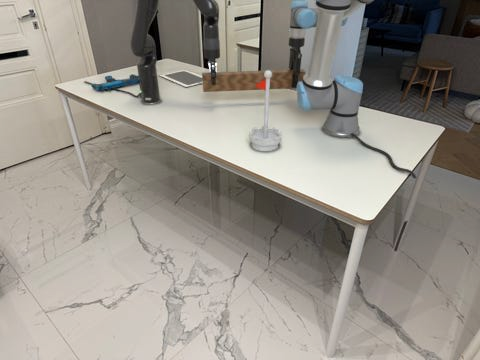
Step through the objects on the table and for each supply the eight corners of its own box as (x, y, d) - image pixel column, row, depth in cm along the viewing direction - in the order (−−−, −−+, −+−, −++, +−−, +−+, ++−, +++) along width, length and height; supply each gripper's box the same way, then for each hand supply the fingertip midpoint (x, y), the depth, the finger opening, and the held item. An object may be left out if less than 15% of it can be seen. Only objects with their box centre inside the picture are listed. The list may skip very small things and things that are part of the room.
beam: (301, 85, 177) (302, 69, 173) (303, 88, 174) (305, 71, 169) (203, 89, 172) (202, 72, 167) (203, 92, 168) (202, 75, 164)
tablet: (159, 75, 221) (159, 75, 220) (185, 70, 232) (185, 69, 231) (186, 87, 200) (186, 86, 200) (213, 80, 211) (213, 80, 211)
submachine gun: (136, 68, 224) (154, 75, 207) (137, 74, 226) (155, 81, 209) (84, 79, 205) (99, 86, 189) (85, 85, 207) (100, 93, 190)
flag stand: (272, 135, 145) (276, 64, 129) (286, 149, 135) (292, 73, 119) (244, 140, 141) (244, 67, 125) (256, 154, 131) (258, 77, 115)
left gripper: (203, 44, 165) (205, 79, 174) (204, 50, 153) (206, 88, 162) (218, 43, 166) (219, 78, 175) (220, 50, 154) (222, 87, 163)
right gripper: (284, 34, 169) (281, 80, 181) (294, 41, 154) (290, 91, 167) (299, 33, 169) (295, 80, 182) (310, 40, 155) (305, 90, 168)
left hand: (213, 83), depth 169 cm, fingers closed on beam, 4 cm apart
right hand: (292, 85), depth 174 cm, fingers closed on beam, 5 cm apart
